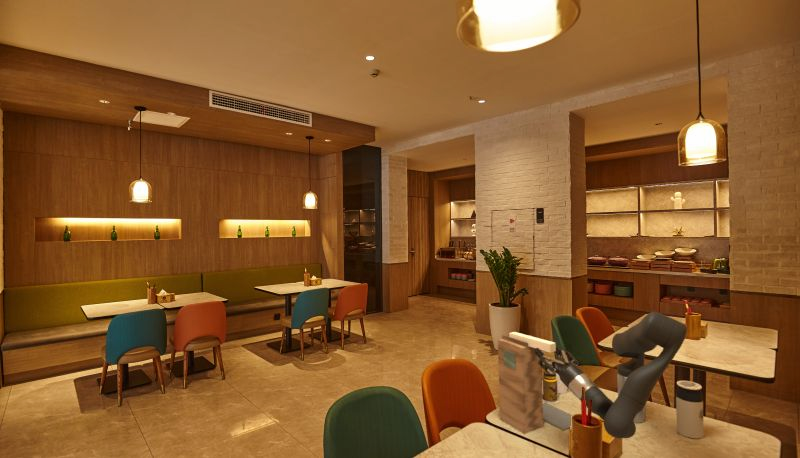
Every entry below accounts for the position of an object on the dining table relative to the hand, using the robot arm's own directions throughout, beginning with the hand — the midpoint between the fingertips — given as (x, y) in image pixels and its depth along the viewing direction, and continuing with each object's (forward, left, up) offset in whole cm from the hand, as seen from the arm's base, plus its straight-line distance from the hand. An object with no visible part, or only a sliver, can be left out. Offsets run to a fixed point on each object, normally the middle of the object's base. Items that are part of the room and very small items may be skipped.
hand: (544, 347), depth 145 cm
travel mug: (-46, +25, -33) cm, 62 cm away
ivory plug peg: (0, -6, -1) cm, 6 cm away
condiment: (-26, -22, -33) cm, 48 cm away
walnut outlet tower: (0, -12, -33) cm, 35 cm away
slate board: (-15, -9, -33) cm, 37 cm away
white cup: (-37, -25, -33) cm, 56 cm away
